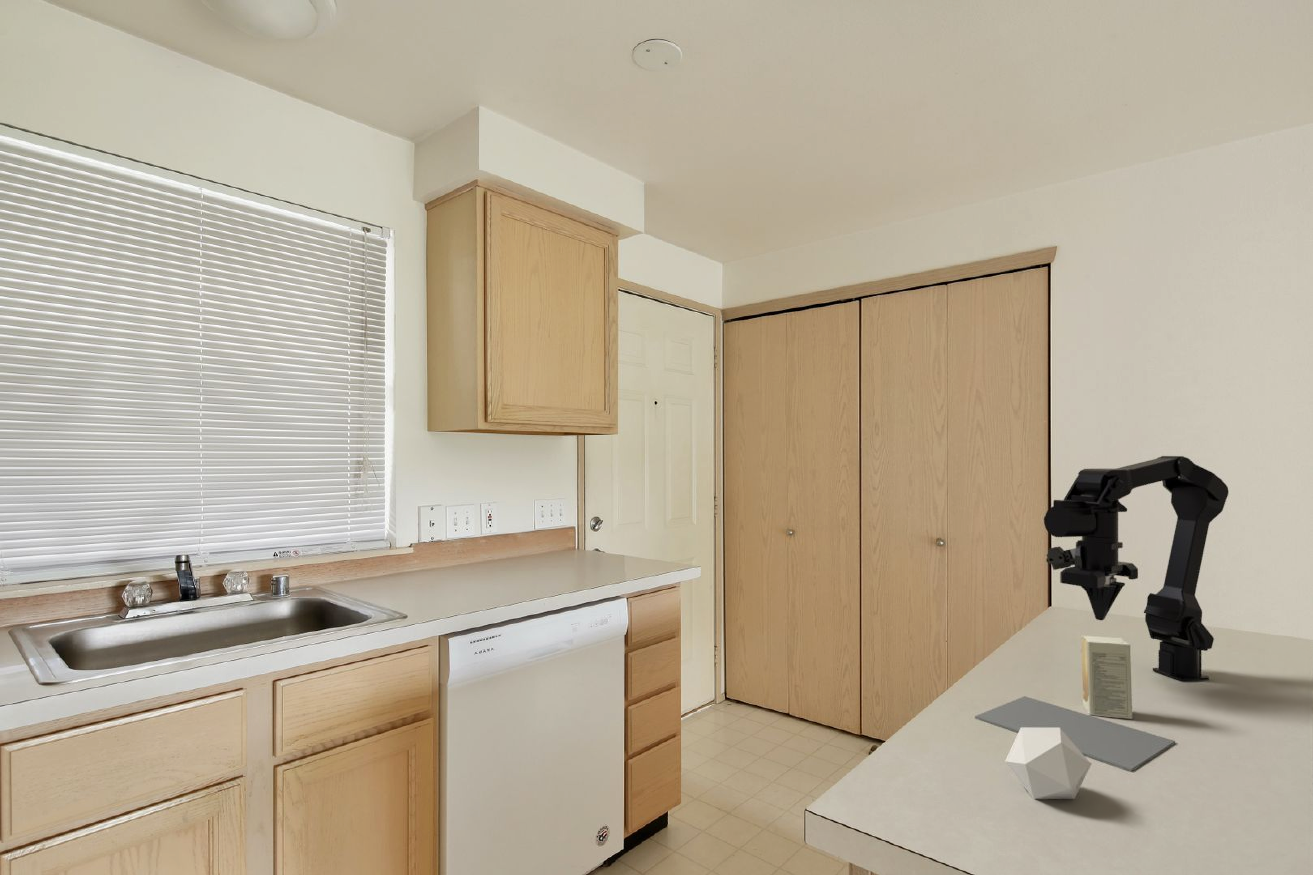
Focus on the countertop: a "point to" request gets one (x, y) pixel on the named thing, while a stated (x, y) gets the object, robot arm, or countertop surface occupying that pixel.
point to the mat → (1081, 731)
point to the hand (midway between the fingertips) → (1099, 619)
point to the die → (1047, 763)
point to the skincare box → (1106, 676)
